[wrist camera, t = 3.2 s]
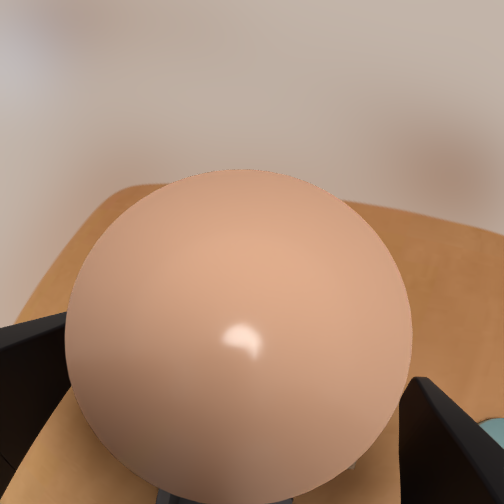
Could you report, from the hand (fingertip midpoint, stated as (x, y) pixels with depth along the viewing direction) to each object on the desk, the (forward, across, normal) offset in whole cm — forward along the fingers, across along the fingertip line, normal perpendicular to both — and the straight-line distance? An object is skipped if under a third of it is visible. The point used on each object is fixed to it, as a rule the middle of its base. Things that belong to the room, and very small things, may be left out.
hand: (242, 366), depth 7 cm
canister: (+6, 0, +6) cm, 8 cm away
